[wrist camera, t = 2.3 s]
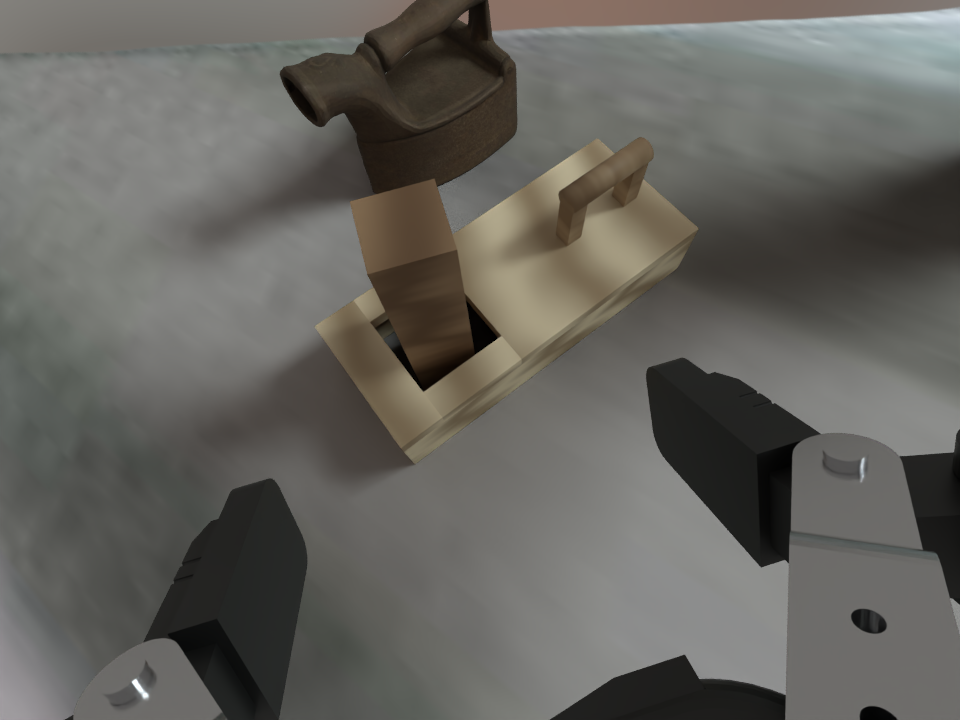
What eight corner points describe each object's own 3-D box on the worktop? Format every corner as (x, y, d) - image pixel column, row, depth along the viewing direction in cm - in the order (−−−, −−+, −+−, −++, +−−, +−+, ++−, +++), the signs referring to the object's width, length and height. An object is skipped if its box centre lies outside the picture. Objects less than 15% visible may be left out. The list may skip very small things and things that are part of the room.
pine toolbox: (588, 184, 44) (608, 82, 35) (677, 268, 41) (725, 179, 31) (337, 355, 39) (285, 289, 30) (415, 464, 36) (382, 427, 27)
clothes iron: (320, 185, 45) (247, 39, 33) (461, 82, 49) (442, -86, 36) (379, 243, 43) (324, 108, 30) (523, 130, 46) (526, -33, 34)
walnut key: (463, 326, 40) (434, 178, 25) (478, 375, 38) (457, 249, 23) (410, 341, 40) (349, 201, 25) (423, 391, 38) (367, 274, 23)
